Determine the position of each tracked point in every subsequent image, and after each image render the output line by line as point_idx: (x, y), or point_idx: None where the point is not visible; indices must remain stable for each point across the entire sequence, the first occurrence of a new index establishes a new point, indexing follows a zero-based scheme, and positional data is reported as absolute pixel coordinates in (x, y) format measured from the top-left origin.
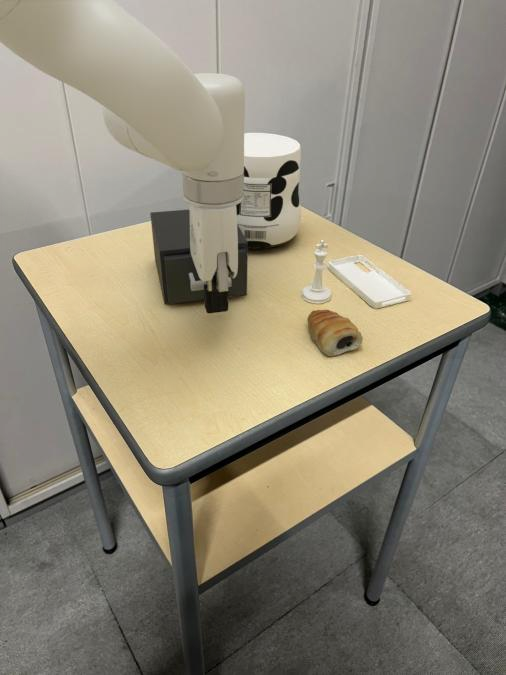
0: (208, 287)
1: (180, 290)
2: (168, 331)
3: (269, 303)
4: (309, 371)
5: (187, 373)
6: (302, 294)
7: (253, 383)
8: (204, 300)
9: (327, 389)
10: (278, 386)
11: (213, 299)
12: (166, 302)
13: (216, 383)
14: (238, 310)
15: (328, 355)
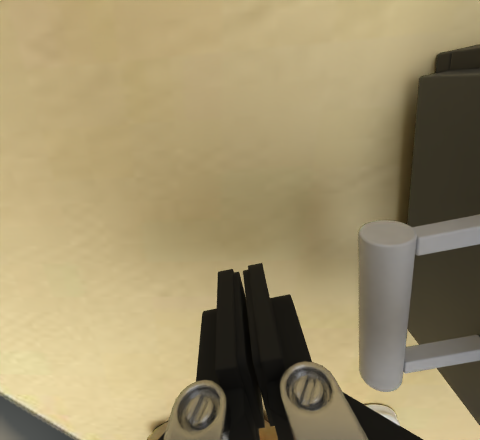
0: (173, 426)
1: (454, 140)
2: (250, 85)
3: (357, 352)
4: (102, 404)
5: (23, 169)
6: (372, 409)
7: (32, 322)
8: (261, 285)
9: (54, 423)
10: (38, 361)
11: (200, 355)
12: (442, 62)
13: (4, 247)
14: (340, 292)
15: (153, 431)
